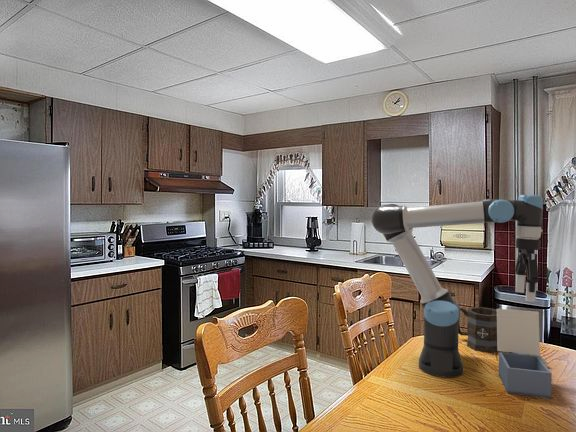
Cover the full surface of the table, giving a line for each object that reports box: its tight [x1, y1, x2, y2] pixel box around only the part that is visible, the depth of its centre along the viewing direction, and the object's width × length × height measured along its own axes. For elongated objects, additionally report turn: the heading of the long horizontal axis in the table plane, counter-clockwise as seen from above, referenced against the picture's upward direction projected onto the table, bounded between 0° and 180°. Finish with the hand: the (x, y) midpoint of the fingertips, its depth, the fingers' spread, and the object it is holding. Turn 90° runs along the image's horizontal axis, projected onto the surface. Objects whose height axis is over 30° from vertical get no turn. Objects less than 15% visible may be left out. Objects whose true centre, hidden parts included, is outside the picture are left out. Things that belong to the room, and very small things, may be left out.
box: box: [497, 351, 553, 400], centre depth 129 cm, size 12×14×8 cm
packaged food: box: [508, 352, 549, 365], centre depth 149 cm, size 9×12×5 cm
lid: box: [496, 308, 541, 356], centre depth 136 cm, size 13×14×1 cm
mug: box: [458, 306, 502, 354], centre depth 166 cm, size 20×14×15 cm
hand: (524, 296), depth 142 cm, fingers open, 13 cm apart
